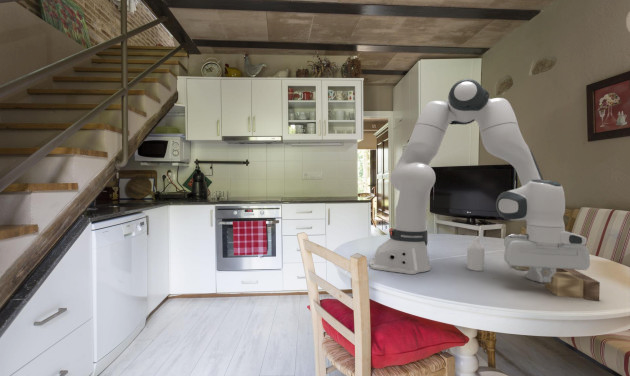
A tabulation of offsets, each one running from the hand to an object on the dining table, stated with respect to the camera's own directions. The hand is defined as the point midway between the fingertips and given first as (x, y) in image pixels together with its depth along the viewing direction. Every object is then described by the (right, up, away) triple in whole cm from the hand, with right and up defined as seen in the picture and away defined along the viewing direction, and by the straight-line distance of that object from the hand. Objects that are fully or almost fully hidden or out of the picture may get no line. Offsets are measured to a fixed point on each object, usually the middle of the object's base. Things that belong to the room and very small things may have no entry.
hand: (544, 282), depth 86 cm
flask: (+6, -3, +10) cm, 12 cm away
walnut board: (+10, -3, +3) cm, 11 cm away
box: (+9, -2, +23) cm, 24 cm away
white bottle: (-8, -2, +22) cm, 24 cm away
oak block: (+5, -3, -1) cm, 5 cm away
